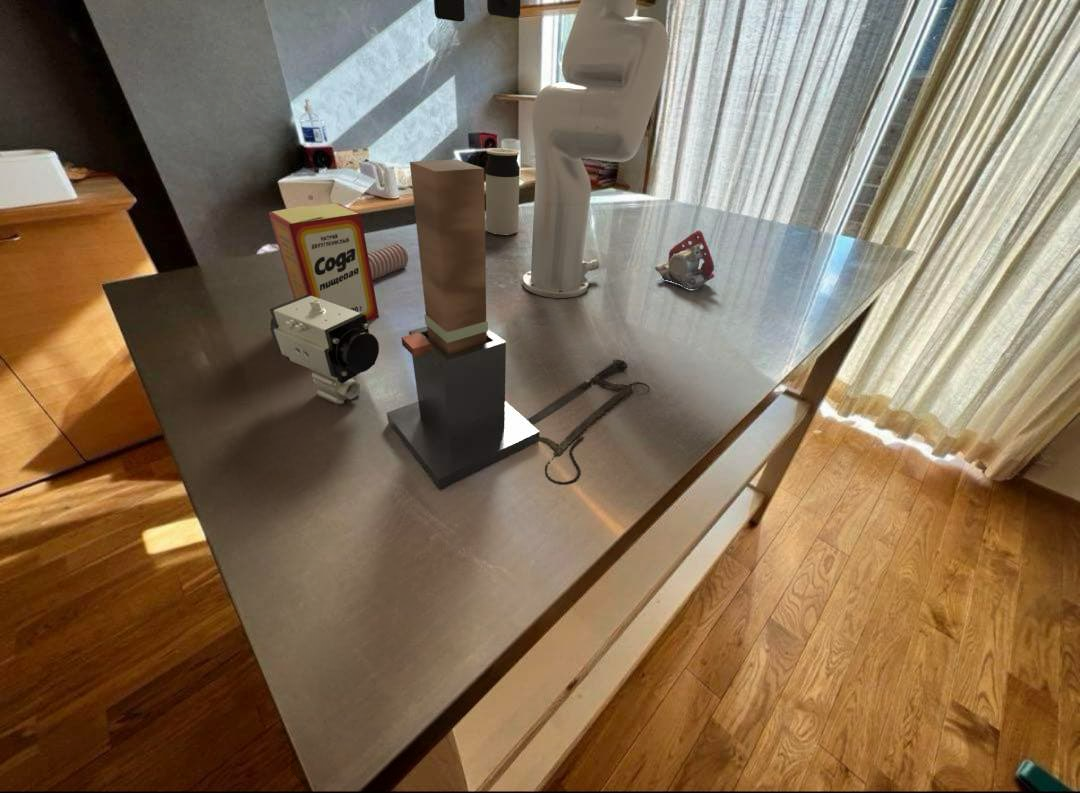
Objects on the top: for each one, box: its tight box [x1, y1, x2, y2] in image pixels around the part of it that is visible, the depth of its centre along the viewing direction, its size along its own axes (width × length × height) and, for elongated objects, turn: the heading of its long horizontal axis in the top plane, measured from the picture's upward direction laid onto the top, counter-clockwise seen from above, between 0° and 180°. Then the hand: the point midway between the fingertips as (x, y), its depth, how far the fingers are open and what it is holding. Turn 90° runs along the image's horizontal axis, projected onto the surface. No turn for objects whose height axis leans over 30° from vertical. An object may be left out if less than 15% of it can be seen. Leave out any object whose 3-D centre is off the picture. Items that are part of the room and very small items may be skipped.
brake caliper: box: [654, 230, 715, 289], centre depth 86 cm, size 11×10×11 cm
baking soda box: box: [268, 203, 380, 322], centre depth 63 cm, size 10×6×16 cm
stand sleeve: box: [386, 326, 540, 491], centre depth 44 cm, size 12×12×13 cm
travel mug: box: [485, 147, 521, 234], centre depth 104 cm, size 8×8×18 cm
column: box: [409, 159, 489, 356], centre depth 37 cm, size 4×4×18 cm
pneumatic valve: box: [269, 294, 380, 406], centre depth 48 cm, size 6×12×12 cm, turn 62°
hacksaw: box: [526, 358, 651, 486], centre depth 52 cm, size 24×10×2 cm, turn 137°
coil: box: [368, 242, 409, 281], centre depth 80 cm, size 5×5×18 cm
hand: (475, 18), depth 42 cm, fingers open, 9 cm apart
